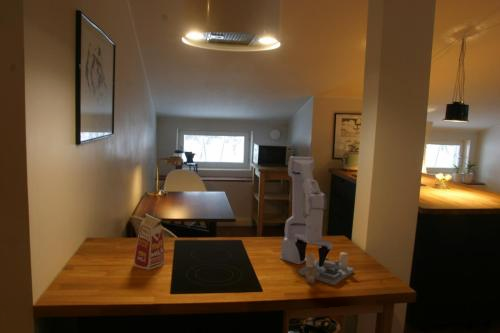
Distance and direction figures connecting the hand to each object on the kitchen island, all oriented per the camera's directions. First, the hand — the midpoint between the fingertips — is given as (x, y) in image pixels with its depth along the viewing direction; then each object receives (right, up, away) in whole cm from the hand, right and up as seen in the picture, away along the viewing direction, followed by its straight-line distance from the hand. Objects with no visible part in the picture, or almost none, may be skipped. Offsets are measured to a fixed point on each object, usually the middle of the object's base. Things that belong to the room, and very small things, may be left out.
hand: (311, 263), depth 134 cm
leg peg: (0, -7, +1) cm, 7 cm away
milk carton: (-61, -4, +11) cm, 62 cm away
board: (+7, -6, +11) cm, 15 cm away
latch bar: (+8, -3, +8) cm, 12 cm away
